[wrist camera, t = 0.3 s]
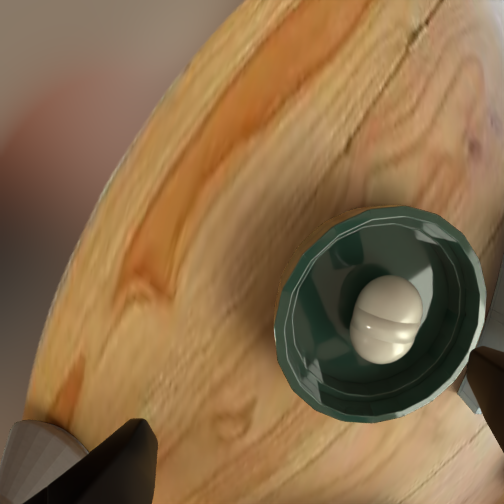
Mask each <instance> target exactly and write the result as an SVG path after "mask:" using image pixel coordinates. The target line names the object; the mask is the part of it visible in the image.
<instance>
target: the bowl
mask: <svg viewBox="0 0 504 504" xmlns="http://www.w3.org/2000/svg"><path fill="white" fill-rule="evenodd" d="M384 275H397V276H400V277H403V278H405V279H407V280H408V281H410V282H411V283H412V284H413V285H414V286H415V287H416V289H417V290H418V292H419V293H420V296H421V298H422V303H423V315H422V319H421V323H420V326H419V330H418V333H417V336H416V338H415V341H414V343H413V345H412V347H411V348H410V350H409V351H408V352H407V353H406V354H405V355H404V356H403V357H402V358H400V359H398V360H397V361H395V362H392V363H388V364H374V363H371V362H368V361H366V360H365V359H363V358H362V357H360V356H359V355H358V353H357V352H356V351H355V350H354V348H353V346H352V344H351V340H350V336H349V327H350V321H351V317H352V314H353V310H354V306H355V303H356V300H357V297H358V295H359V293H360V292H361V290H362V289H363V287H364V286H365V285H366V284H367V283H369V282H370V281H371V280H373V279H375V278H377V277H380V276H384ZM486 294H487V292H486V286H485V282H484V277H483V273H482V268H481V264H480V261H479V259H478V257H477V255H476V254H475V252H474V250H473V249H472V247H471V245H470V244H469V242H468V241H467V239H466V237H465V236H464V235H463V233H461V232H460V231H459V230H458V229H456V228H455V227H454V226H453V225H451V224H450V223H449V222H447V221H446V220H445V219H443V218H442V217H441V216H439V215H437V214H435V213H431V212H428V211H424V210H421V209H417V208H413V207H410V206H404V205H381V206H371V207H361V208H354V209H351V210H349V211H347V212H345V213H343V214H340V215H338V216H336V217H334V218H332V219H330V220H327V221H325V222H324V223H322V224H321V225H320V226H319V227H318V228H317V229H316V230H315V231H314V232H312V233H311V234H310V235H309V236H308V237H307V238H306V239H305V240H304V241H303V242H302V243H301V244H300V245H299V246H298V247H297V248H296V250H295V252H294V254H293V255H292V257H291V259H290V261H289V262H288V264H287V266H286V268H285V269H284V271H283V273H282V275H281V278H280V282H279V287H278V292H277V297H276V301H275V306H274V336H275V344H276V352H277V361H278V363H279V365H280V367H281V369H282V371H283V373H284V375H285V377H286V379H287V381H288V383H289V385H290V387H291V389H292V390H293V391H294V392H295V393H296V394H297V395H298V396H299V397H301V398H302V399H303V400H304V401H305V402H306V403H307V404H308V405H310V406H311V407H312V408H313V409H314V410H316V411H318V412H320V413H323V414H325V415H328V416H330V417H333V418H335V419H338V420H341V421H344V422H358V423H377V422H382V421H386V420H391V419H395V418H399V417H403V416H405V415H407V414H409V413H411V412H413V411H415V410H417V409H419V408H421V407H423V406H425V405H426V404H428V403H430V402H431V401H433V400H434V399H435V398H436V397H437V396H439V395H440V394H441V393H442V392H443V391H444V390H445V389H446V388H447V387H449V386H450V385H451V384H452V383H453V382H454V381H455V380H456V378H457V377H458V376H459V374H460V373H461V371H462V370H463V368H464V367H465V365H466V364H467V362H468V359H469V354H470V352H471V350H473V349H475V348H476V345H477V342H478V339H479V337H480V334H481V331H482V328H483V325H484V320H485V309H486Z"/></svg>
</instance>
